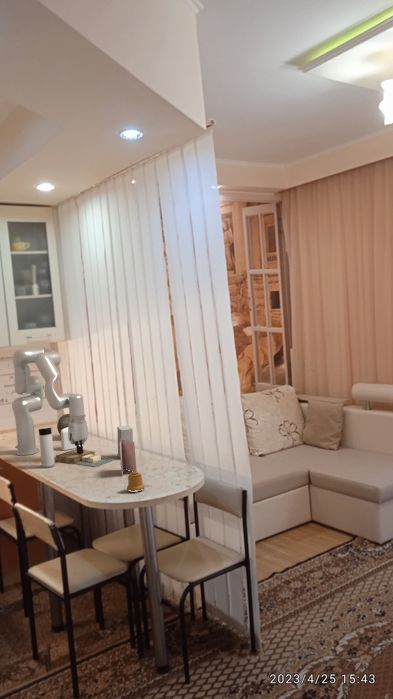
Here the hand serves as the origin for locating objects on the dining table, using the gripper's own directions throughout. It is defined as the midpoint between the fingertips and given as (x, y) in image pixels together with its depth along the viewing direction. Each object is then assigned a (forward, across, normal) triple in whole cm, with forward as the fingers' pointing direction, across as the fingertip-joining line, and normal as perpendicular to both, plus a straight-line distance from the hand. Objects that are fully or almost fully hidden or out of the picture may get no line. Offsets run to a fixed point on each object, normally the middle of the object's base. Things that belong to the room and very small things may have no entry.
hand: (80, 453), depth 302 cm
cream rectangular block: (+3, 0, +8) cm, 8 cm away
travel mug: (+4, +16, -7) cm, 17 cm away
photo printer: (+4, -15, -24) cm, 28 cm away
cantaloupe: (+4, -33, -45) cm, 56 cm away
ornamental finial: (+3, +26, +61) cm, 67 cm away
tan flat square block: (+4, 0, -4) cm, 5 cm away
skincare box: (+4, -13, +20) cm, 24 cm away
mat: (+3, 0, +11) cm, 11 cm away
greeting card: (+3, +7, +40) cm, 41 cm away
